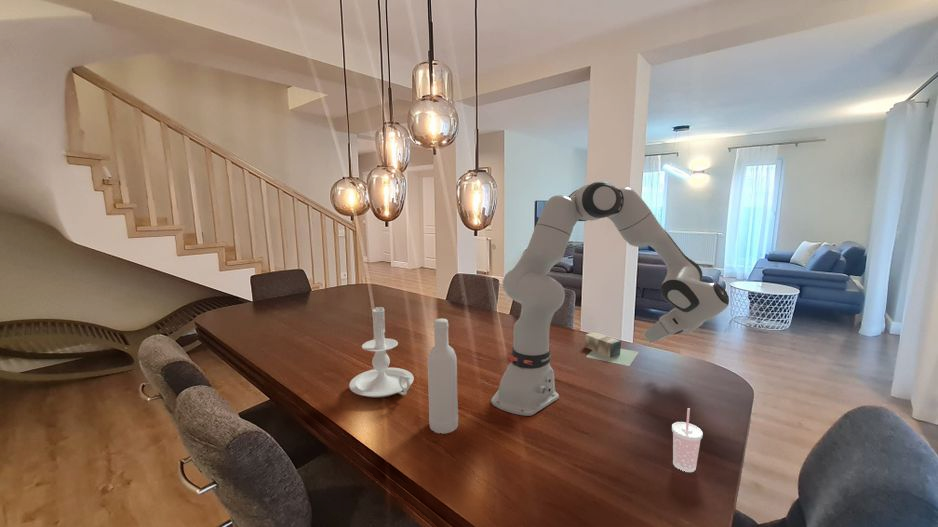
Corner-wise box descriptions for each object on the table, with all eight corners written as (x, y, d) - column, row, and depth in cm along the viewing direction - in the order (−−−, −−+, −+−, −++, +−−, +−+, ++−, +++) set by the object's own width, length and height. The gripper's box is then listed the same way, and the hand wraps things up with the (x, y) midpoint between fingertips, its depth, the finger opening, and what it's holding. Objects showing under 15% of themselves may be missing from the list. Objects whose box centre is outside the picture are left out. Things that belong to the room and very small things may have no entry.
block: (620, 341, 151) (594, 332, 162) (611, 343, 148) (585, 334, 159) (620, 354, 152) (593, 344, 163) (611, 357, 149) (584, 347, 160)
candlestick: (383, 418, 110) (377, 323, 106) (337, 391, 126) (331, 308, 122) (435, 391, 125) (432, 307, 121) (388, 370, 141) (385, 296, 137)
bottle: (461, 431, 103) (459, 323, 98) (432, 436, 101) (428, 326, 96) (454, 415, 111) (451, 314, 106) (427, 420, 108) (423, 317, 104)
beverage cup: (666, 454, 92) (670, 400, 90) (695, 459, 90) (700, 403, 88) (672, 471, 86) (676, 414, 84) (703, 476, 85) (708, 418, 82)
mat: (629, 367, 141) (629, 366, 141) (585, 357, 150) (585, 356, 150) (638, 353, 154) (638, 352, 154) (598, 345, 163) (598, 344, 163)
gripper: (693, 306, 134) (664, 326, 143) (658, 316, 123) (630, 337, 133) (706, 322, 130) (675, 341, 140) (671, 334, 120) (641, 354, 130)
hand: (653, 339), depth 136 cm, fingers closed
